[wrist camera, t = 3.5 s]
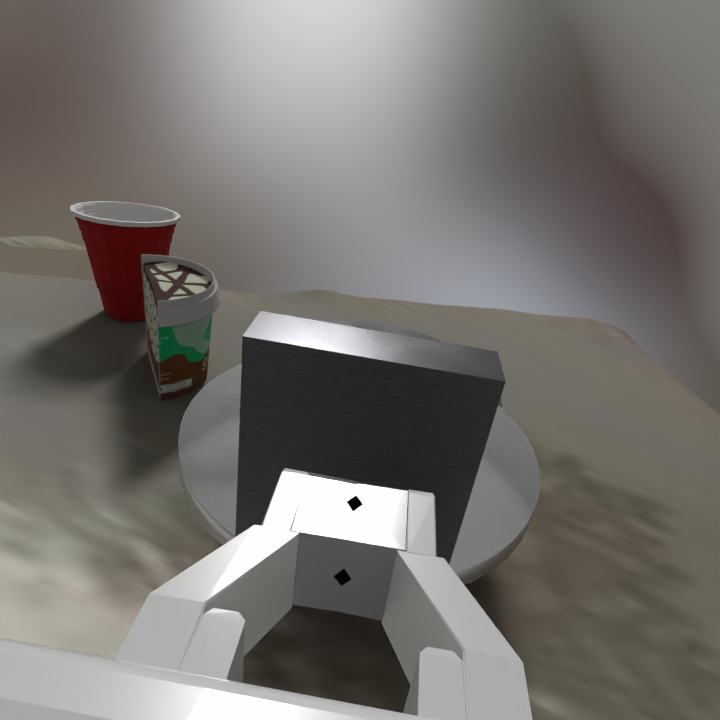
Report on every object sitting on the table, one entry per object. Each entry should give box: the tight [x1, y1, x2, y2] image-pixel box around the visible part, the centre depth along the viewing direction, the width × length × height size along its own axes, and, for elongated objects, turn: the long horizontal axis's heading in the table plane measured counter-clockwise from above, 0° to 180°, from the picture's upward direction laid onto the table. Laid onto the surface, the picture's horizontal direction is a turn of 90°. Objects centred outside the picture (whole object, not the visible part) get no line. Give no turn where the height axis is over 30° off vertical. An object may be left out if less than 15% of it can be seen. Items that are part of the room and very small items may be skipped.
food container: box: [141, 254, 221, 400], centre depth 51 cm, size 12×6×10 cm, turn 26°
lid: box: [178, 311, 540, 585], centre depth 27 cm, size 18×18×10 cm
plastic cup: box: [70, 201, 181, 321], centre depth 60 cm, size 11×11×12 cm
